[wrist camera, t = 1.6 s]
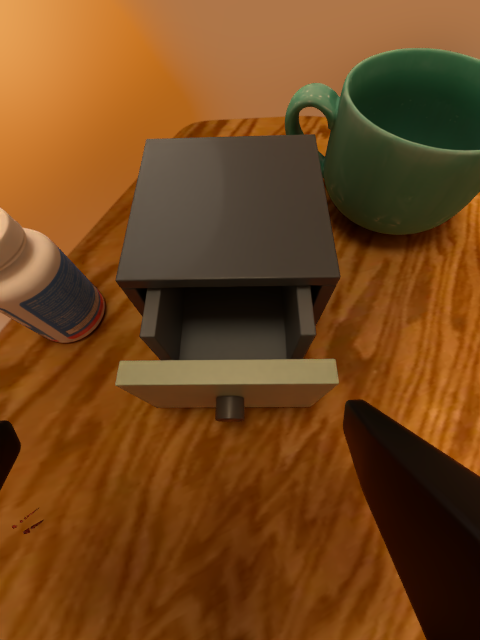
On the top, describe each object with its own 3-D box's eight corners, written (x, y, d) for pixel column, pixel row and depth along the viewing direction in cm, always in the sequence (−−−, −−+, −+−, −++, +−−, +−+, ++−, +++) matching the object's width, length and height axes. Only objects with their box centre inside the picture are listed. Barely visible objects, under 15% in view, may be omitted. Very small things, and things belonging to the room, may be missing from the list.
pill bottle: (107, 281, 25) (31, 187, 16) (105, 338, 23) (16, 264, 14) (44, 291, 25) (-68, 201, 16) (35, 349, 23) (-101, 281, 14)
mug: (455, 177, 29) (540, 63, 21) (440, 272, 25) (542, 174, 16) (300, 141, 33) (318, 29, 24) (259, 218, 28) (264, 113, 19)
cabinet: (309, 339, 22) (341, 277, 15) (160, 341, 23) (114, 280, 15) (296, 225, 27) (315, 133, 20) (174, 228, 28) (145, 138, 20)
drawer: (312, 426, 19) (343, 411, 13) (154, 426, 19) (109, 412, 13) (297, 275, 24) (313, 213, 18) (172, 277, 24) (146, 216, 18)
